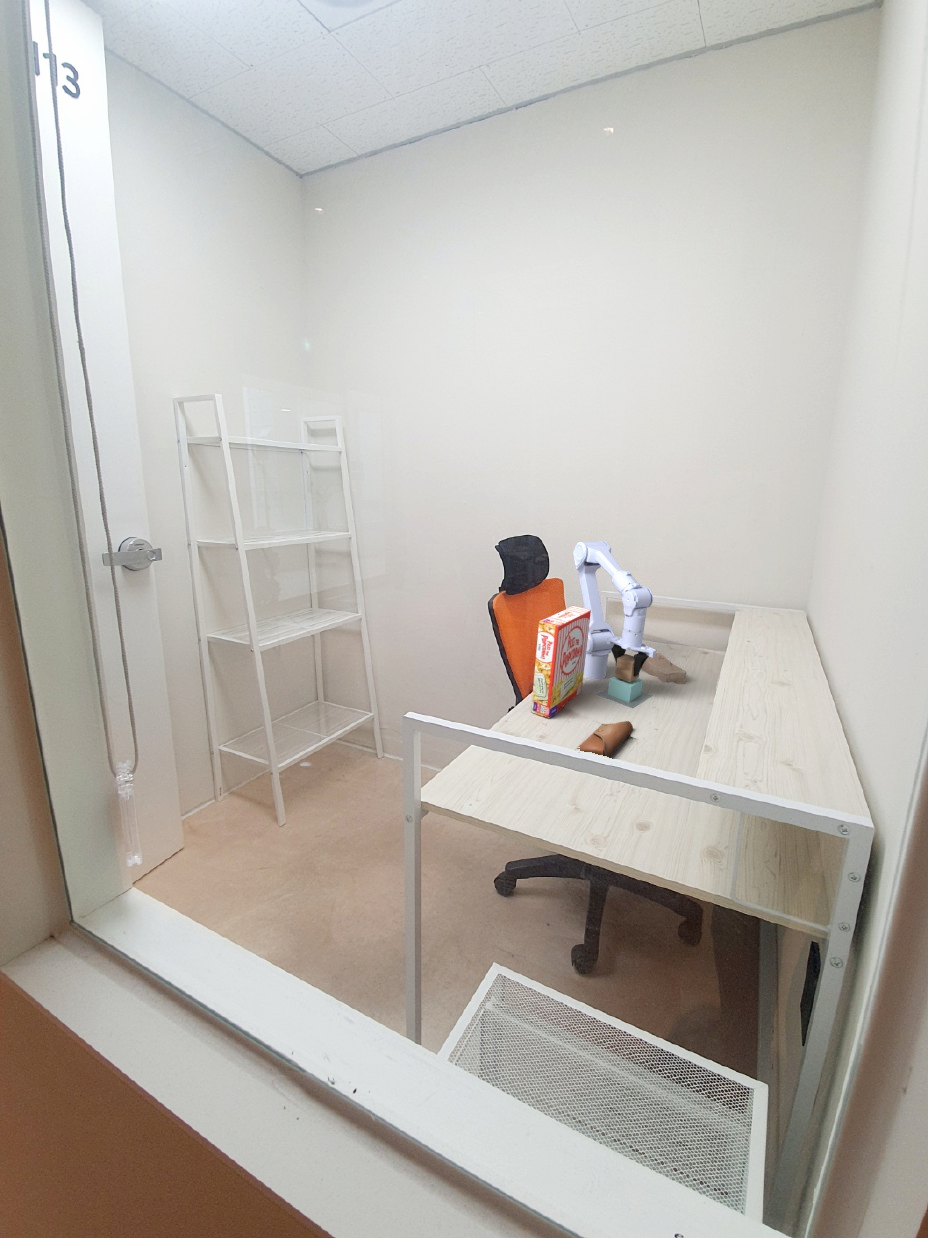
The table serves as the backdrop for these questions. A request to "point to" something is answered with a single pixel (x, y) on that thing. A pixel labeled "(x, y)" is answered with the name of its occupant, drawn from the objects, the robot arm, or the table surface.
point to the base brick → (625, 688)
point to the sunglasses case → (607, 738)
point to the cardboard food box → (560, 660)
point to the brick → (664, 669)
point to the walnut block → (625, 668)
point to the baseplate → (630, 704)
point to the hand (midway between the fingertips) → (627, 672)
